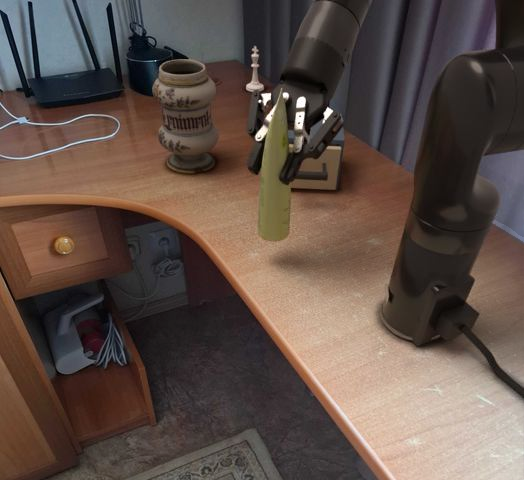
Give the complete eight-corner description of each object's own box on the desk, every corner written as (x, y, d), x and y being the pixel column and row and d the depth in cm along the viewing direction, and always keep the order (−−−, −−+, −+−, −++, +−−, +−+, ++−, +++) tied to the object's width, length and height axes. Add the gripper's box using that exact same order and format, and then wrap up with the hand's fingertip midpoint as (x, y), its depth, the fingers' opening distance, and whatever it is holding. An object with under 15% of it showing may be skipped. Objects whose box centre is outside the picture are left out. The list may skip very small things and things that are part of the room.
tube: (298, 238, 71) (308, 101, 57) (270, 248, 69) (274, 109, 55) (277, 221, 75) (282, 87, 60) (250, 230, 73) (248, 94, 58)
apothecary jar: (177, 182, 92) (165, 81, 79) (152, 158, 99) (137, 61, 86) (230, 167, 97) (227, 70, 84) (203, 145, 104) (196, 52, 90)
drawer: (336, 204, 86) (342, 162, 80) (279, 201, 86) (281, 159, 80) (333, 162, 97) (338, 123, 91) (283, 159, 98) (285, 121, 92)
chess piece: (257, 93, 126) (257, 50, 118) (242, 89, 127) (241, 47, 120) (267, 88, 129) (268, 45, 121) (252, 84, 130) (252, 42, 123)
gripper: (264, 25, 61) (212, 151, 63) (364, 44, 55) (304, 181, 57) (284, 61, 68) (237, 174, 70) (374, 81, 62) (321, 202, 64)
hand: (268, 176), depth 64 cm, fingers closed on tube, 4 cm apart
